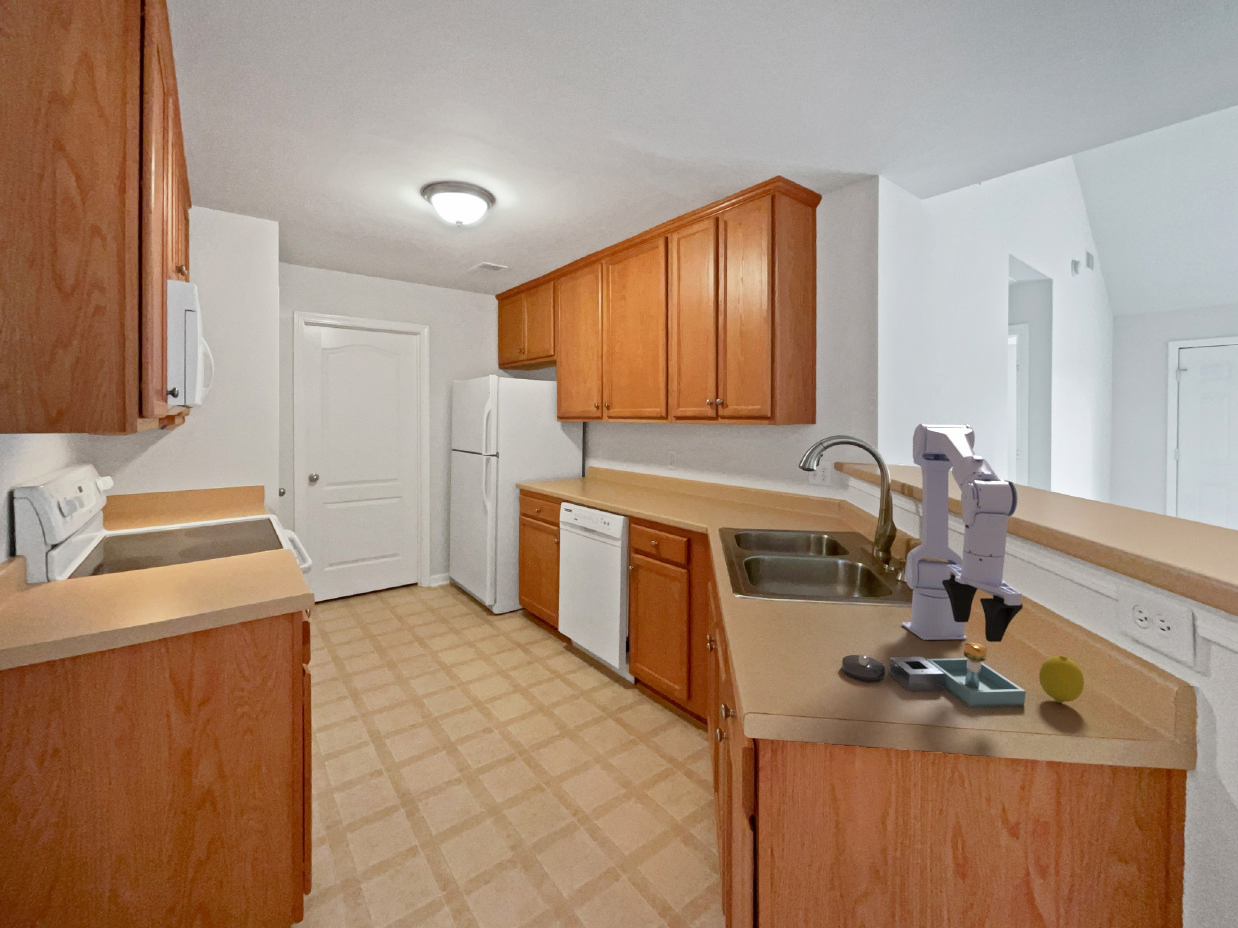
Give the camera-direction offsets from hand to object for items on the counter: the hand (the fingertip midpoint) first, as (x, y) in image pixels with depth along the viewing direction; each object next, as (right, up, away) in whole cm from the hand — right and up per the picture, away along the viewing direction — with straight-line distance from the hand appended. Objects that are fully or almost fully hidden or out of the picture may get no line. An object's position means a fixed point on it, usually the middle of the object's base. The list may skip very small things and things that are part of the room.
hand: (976, 630), depth 90 cm
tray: (0, -10, +1) cm, 10 cm away
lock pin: (0, -10, +1) cm, 10 cm away
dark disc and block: (-13, -10, +5) cm, 17 cm away
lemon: (+11, -11, -3) cm, 16 cm away
